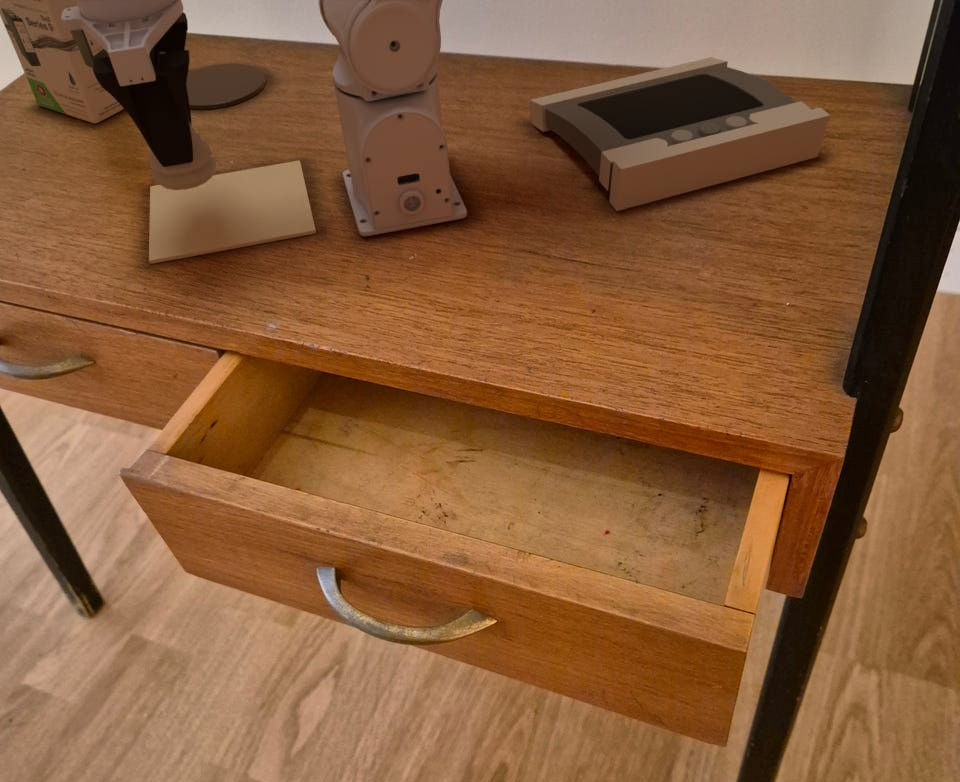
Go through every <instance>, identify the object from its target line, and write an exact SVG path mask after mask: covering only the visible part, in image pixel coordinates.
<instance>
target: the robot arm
mask: <svg viewBox="0 0 960 782" xmlns="http://www.w3.org/2000/svg"><path fill="white" fill-rule="evenodd" d="M76 1H77V4H78V6H76V7H70V8H66V9H64V10H63V12H62V16H61V20H62V22H63V25H64V27H65V29H66V30H69V31H72V30H79V29H82V30H85V31H86V32H87V33H88V34H89V35H90V36H91V37H92V38H93V39H94V40H95V41H96V42H97V43H98V44H100V45H101V46H102V47H103V48H104V49H105V50H106V51H107V52H108V55H109V57H103V58H96V59H94V63H93V72H94V75H95V77H96V79H97V81H98V82H99V84H100V85H101V86H102V88H104V89H105V90H106V91H107V92H108V93H109V94H111V95H112V96H113V97H114V98H115V99H116V100H117V101H118V102H119V104H120V105H121V106H122V107H123V108H124V109H123V110H124V111H125V112H126V113H127V115H128V116H130V118H131V119H132V121H133V123H134V125H135V126H136V128H137V129H138V131H139V132H140V133H141V135H142V137H143V139H144V141H145V142H146V144H147V145H148V147H149V149H150V152H151V151H152V152H153V154H154V155H155V157H156V158H157V160H158V161H159V162H160V164H161V165H162V166H163V167H168V166H174V165H179V164H185V163H191V162H193V145H192V136H191V130H190V124H191V126H192V127H193V125H192V124H193V123H192V112H191V109H190V105H189V98H188V92H187V85H186V81H187V76H188V73H189V68H190V50H189V49H186V41H187V36H188V35H187V34H188V30H189V25H188V23H189V22H188V17H187V15H186V13H185V12H184V5H183V2H182V0H76ZM443 1H444V0H318V1H317V2H318V9H319V12H320V15H321V18H322V20H323V23H324V25H325V26H326V28H327V30H328V31H329V32H330V33H331V35H332V36H333V37H334V38H335V39H336V41H337V43H338V45H339V50H338V54H337V59H336V62H335V64H334V67H333V70H332V73H331V75H332V80H333V87H334V92H335V98H336V103H337V108H338V114H339V120H340V126H341V131H342V136H343V143H344V147H345V148H344V149H345V153H346V159H347V164H348V169H346V170H343V172H342V178H343V182H344V186H345V189H346V192H347V196H348V200H349V203H350V206H351V210H352V214H353V217H354V220H355V224H356V227H357V230H358V234H359V235H360V236H362V237H372V236H376V235H382V234H386V233H393V232H398V231H402V230H409V229H414V228H419V227H425V226H430V225H434V224H441V223H446V222H451V221H457V220H461V219H465V218H466V217H467V216H468V211H467V208H466V206H465V203H464V201H463V199H462V197H461V195H460V192H459V191H458V189H457V186H456V184H455V181H454V180H453V177H452V174H451V170H450V160H449V159H450V157H449V149H448V146H449V145H448V140H447V137H446V134H445V131H444V129H443V119H442V110H441V109H442V108H441V97H440V88H439V87H440V86H439V77H438V75H439V74H438V65H437V63H438V60H439V58H440V53H441V49H442V48H441V47H442V46H441V45H442V36H441V35H442V34H441V33H442V32H441V23H440V22H441V21H440V18H441V9H442V5H443ZM162 51H163V52H165V54H160V52H162ZM189 122H190V124H189Z"/></svg>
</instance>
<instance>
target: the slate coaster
mask: <svg viewBox="0 0 960 782" xmlns="http://www.w3.org/2000/svg"><path fill="white" fill-rule="evenodd" d="M186 85H187V92H188V98H189V105H190V110H198V111H199V110H203V111H204V110H216V109H222V108H226V107H231V106H235V105H238V104H240V103H243V102H245V101H248V100H249V99H251V98H253V97H255V96H257V95H258V94H259V93H260V92H261V91H262V90H263V89H264V87H265V85H266V76H265V74H264V72H263V71H262V70H261V69H259V68H257V67H255V66H253V65H249V64H243V63H220V64H212V65H208V66H203V67H200V68H196V69H193V70H191V71H188V76H187V81H186Z"/></svg>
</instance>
